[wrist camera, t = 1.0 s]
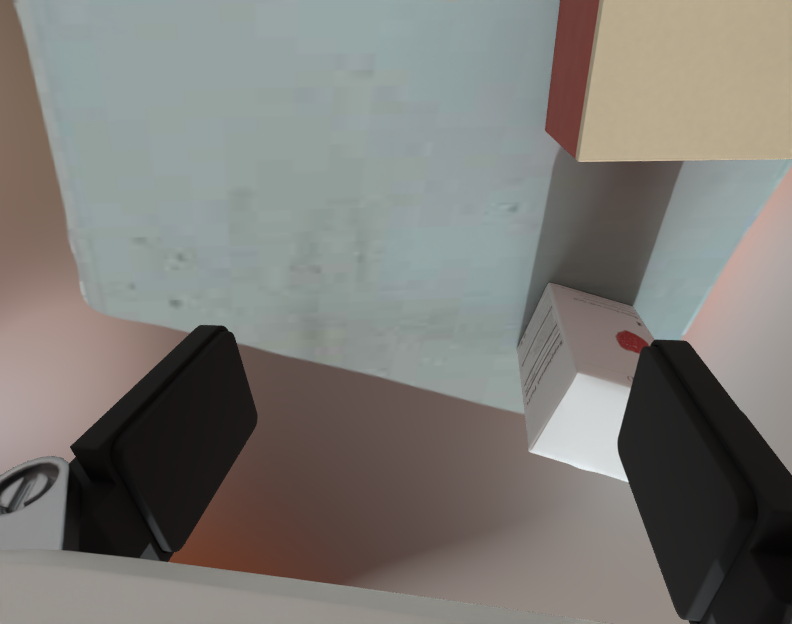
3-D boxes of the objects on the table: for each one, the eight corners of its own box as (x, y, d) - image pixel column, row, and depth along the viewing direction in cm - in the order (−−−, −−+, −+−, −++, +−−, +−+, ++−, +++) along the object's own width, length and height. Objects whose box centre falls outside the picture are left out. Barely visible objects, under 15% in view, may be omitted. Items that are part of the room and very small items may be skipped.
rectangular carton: (636, 304, 42) (706, 408, 29) (593, 373, 47) (637, 489, 34) (547, 278, 42) (577, 370, 30) (513, 349, 47) (526, 455, 34)
